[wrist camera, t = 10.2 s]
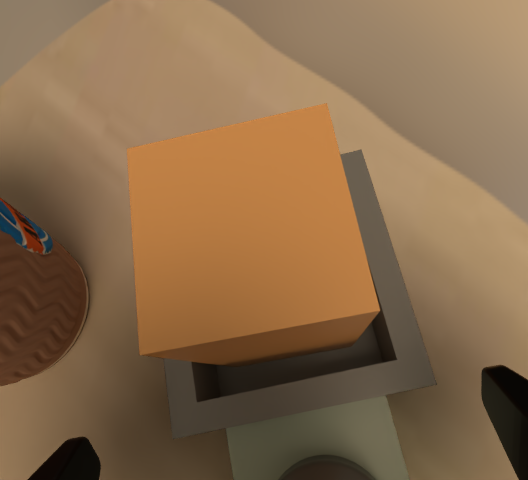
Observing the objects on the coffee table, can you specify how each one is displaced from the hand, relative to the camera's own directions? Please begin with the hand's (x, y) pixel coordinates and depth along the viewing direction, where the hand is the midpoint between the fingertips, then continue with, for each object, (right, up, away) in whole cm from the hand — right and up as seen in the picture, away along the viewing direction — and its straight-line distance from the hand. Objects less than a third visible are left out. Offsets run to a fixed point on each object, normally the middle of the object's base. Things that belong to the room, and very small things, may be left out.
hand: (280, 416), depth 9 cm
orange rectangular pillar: (+1, +1, +9) cm, 9 cm away
